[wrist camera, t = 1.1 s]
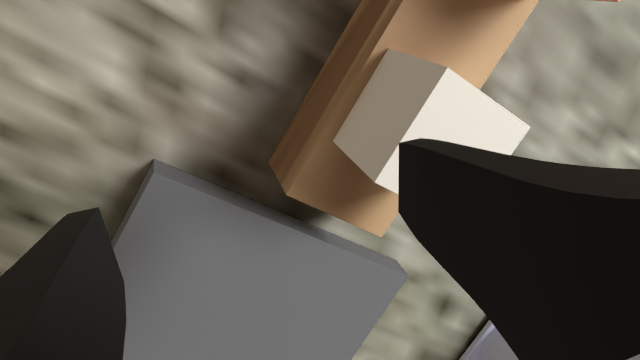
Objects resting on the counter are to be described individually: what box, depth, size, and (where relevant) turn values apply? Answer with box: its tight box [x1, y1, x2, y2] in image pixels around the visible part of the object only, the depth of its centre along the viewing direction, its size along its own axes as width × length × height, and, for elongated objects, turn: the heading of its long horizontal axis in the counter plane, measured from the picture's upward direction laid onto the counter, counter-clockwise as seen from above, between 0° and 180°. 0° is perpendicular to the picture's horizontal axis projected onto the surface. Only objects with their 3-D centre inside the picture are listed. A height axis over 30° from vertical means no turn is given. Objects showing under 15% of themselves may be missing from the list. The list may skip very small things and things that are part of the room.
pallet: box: [268, 0, 539, 237], centre depth 19 cm, size 5×18×4 cm, turn 147°
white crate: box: [333, 48, 530, 194], centre depth 16 cm, size 4×4×4 cm
